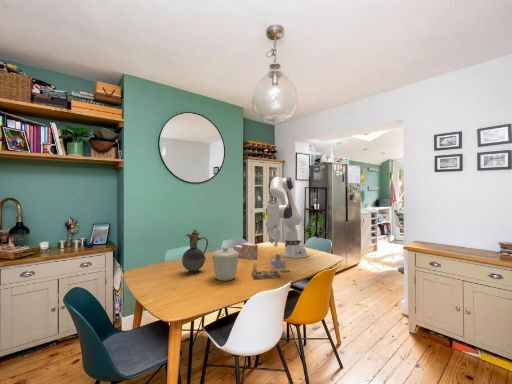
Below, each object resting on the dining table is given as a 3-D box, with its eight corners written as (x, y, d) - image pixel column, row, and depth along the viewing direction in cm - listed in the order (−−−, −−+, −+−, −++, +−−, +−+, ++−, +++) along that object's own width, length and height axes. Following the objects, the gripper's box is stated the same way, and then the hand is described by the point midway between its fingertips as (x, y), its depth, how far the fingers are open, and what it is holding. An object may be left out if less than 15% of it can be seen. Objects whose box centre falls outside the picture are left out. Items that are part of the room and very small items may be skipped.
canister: (206, 277, 163) (206, 246, 163) (229, 271, 175) (229, 242, 175) (221, 285, 149) (221, 251, 149) (244, 278, 161) (244, 246, 161)
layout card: (289, 270, 177) (289, 268, 177) (290, 271, 174) (290, 270, 174) (279, 271, 176) (279, 269, 176) (281, 272, 173) (281, 270, 173)
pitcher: (180, 272, 174) (180, 230, 173) (205, 267, 185) (204, 227, 185) (185, 276, 165) (185, 232, 165) (211, 271, 176) (211, 229, 176)
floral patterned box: (233, 256, 215) (233, 242, 215) (237, 255, 221) (237, 241, 221) (253, 260, 204) (253, 245, 204) (257, 258, 209) (257, 244, 209)
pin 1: (256, 270, 179) (256, 260, 179) (256, 271, 176) (256, 261, 176) (252, 270, 178) (252, 260, 178) (253, 271, 176) (253, 261, 175)
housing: (283, 265, 189) (283, 252, 189) (285, 267, 184) (285, 254, 184) (270, 266, 187) (270, 253, 187) (272, 268, 182) (272, 255, 182)
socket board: (276, 273, 171) (276, 269, 171) (280, 277, 163) (280, 273, 163) (251, 275, 167) (251, 271, 167) (253, 279, 160) (253, 275, 160)
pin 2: (274, 275, 168) (274, 264, 168) (275, 276, 165) (275, 266, 165) (270, 275, 167) (270, 265, 167) (271, 276, 165) (271, 266, 165)
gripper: (282, 226, 156) (283, 248, 156) (273, 222, 176) (274, 241, 176) (273, 227, 155) (273, 248, 155) (265, 222, 175) (265, 242, 175)
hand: (273, 244), depth 166 cm, fingers open, 8 cm apart
